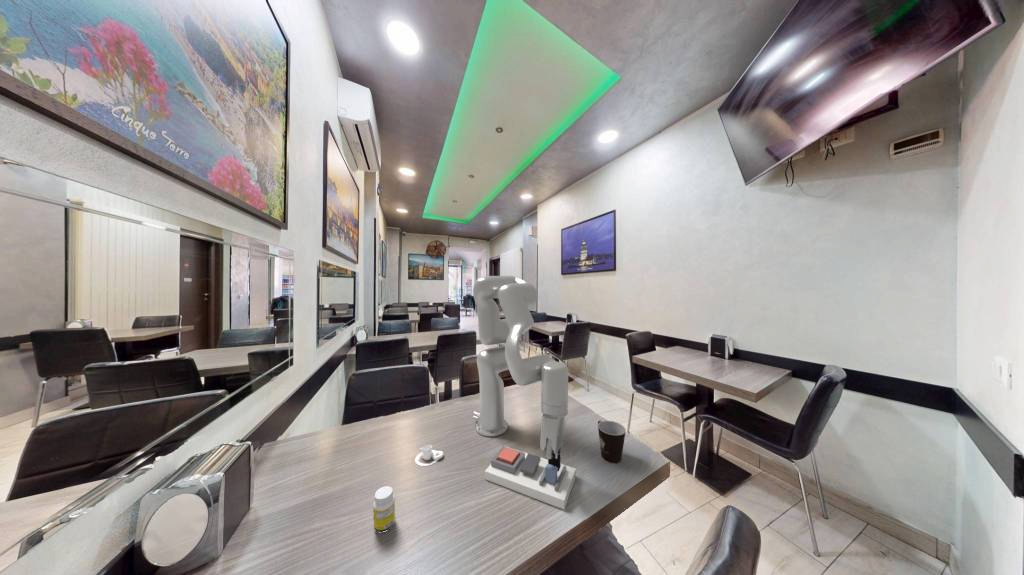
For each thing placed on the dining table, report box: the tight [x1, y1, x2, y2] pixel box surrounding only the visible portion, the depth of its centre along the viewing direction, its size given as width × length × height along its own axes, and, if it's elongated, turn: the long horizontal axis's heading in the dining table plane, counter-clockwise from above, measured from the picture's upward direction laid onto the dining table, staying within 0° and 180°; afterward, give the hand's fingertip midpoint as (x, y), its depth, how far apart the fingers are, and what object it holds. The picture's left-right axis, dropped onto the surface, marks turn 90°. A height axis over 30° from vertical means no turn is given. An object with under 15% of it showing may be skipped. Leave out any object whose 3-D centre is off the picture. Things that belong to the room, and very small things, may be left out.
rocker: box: [520, 452, 542, 476], centre depth 82 cm, size 4×6×1 cm, turn 154°
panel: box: [484, 445, 577, 510], centre depth 83 cm, size 24×13×4 cm, turn 64°
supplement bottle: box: [372, 485, 396, 533], centre depth 67 cm, size 5×5×8 cm
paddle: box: [545, 464, 558, 485], centre depth 77 cm, size 3×2×5 cm, turn 64°
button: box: [497, 448, 519, 465], centre depth 86 cm, size 5×5×2 cm
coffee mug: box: [597, 420, 627, 464], centre depth 93 cm, size 12×9×10 cm
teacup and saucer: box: [414, 444, 444, 467], centre depth 91 cm, size 9×8×4 cm
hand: (554, 468), depth 80 cm, fingers closed
